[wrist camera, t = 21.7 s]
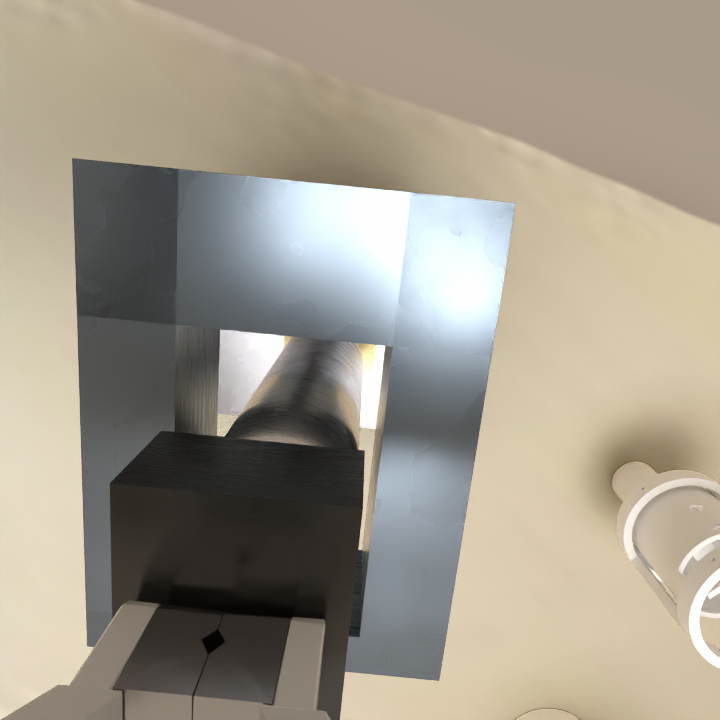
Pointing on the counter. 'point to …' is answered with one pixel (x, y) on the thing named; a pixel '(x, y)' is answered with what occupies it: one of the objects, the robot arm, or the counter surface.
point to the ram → (256, 506)
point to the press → (265, 343)
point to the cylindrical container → (547, 715)
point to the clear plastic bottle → (674, 541)
